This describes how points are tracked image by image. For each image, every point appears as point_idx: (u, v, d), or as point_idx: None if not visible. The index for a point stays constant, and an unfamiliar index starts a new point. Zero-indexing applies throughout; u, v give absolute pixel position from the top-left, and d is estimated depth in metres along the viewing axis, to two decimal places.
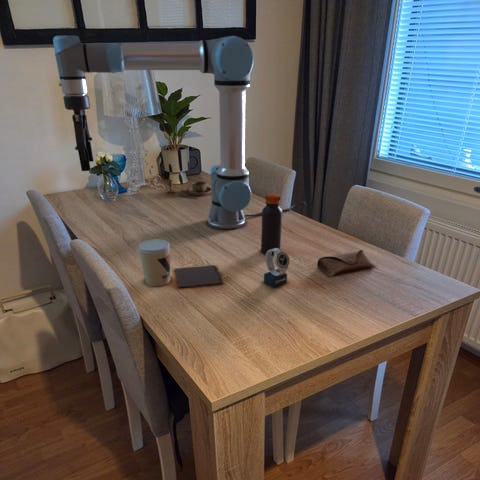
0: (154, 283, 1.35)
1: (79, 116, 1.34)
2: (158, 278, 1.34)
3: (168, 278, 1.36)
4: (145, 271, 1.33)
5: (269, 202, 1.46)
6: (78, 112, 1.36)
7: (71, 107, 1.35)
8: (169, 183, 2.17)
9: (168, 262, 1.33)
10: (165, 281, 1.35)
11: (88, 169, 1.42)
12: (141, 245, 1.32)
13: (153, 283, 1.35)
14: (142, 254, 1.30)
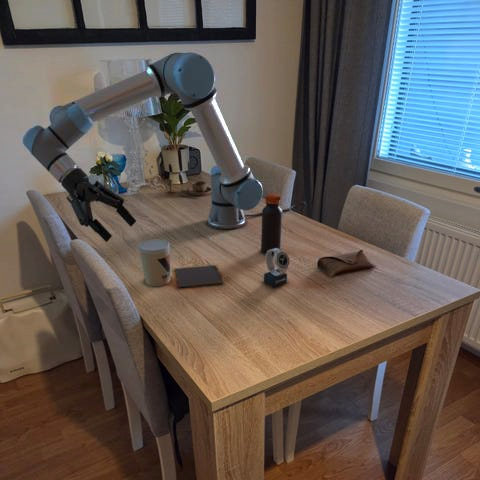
0: (154, 283, 1.35)
1: (70, 194, 1.24)
2: (158, 278, 1.34)
3: (168, 278, 1.36)
4: (145, 271, 1.33)
5: (269, 202, 1.46)
6: (74, 190, 1.27)
7: (68, 190, 1.28)
8: (169, 183, 2.17)
9: (168, 262, 1.33)
10: (165, 281, 1.35)
11: (108, 236, 1.27)
12: (141, 245, 1.32)
13: (153, 283, 1.35)
14: (142, 254, 1.30)
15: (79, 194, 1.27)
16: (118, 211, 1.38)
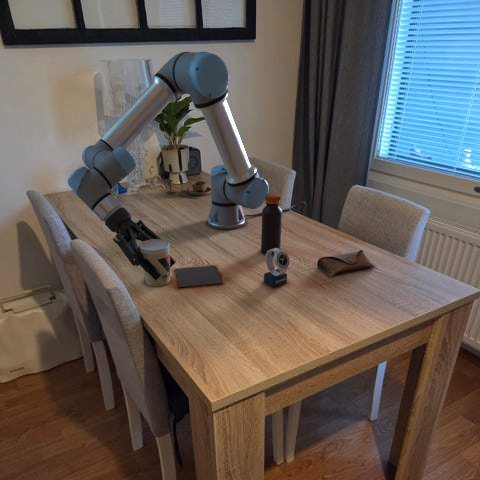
0: (154, 283, 1.35)
1: (117, 236, 1.27)
2: (158, 278, 1.34)
3: (168, 278, 1.36)
4: (145, 271, 1.33)
5: (269, 202, 1.46)
6: (117, 229, 1.29)
7: (111, 229, 1.30)
8: (169, 183, 2.17)
9: (168, 262, 1.33)
10: (165, 281, 1.35)
11: (158, 275, 1.31)
12: (141, 245, 1.32)
13: (153, 283, 1.35)
14: (142, 254, 1.30)
15: (123, 233, 1.29)
16: None
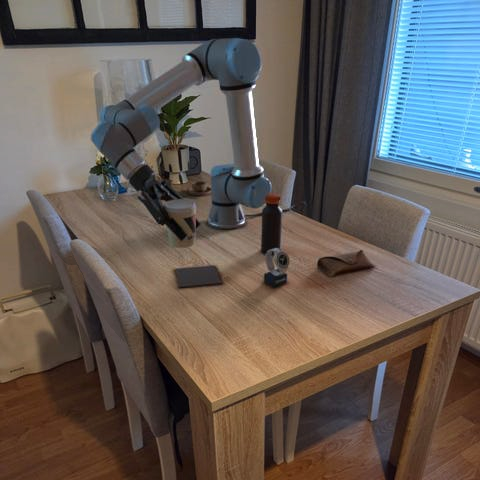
0: (179, 245, 1.30)
1: (142, 194, 1.22)
2: (183, 239, 1.29)
3: (193, 240, 1.31)
4: (170, 232, 1.29)
5: (269, 202, 1.46)
6: (142, 187, 1.24)
7: (136, 187, 1.25)
8: (169, 183, 2.17)
9: (194, 222, 1.29)
10: (190, 242, 1.31)
11: (184, 235, 1.26)
12: (166, 204, 1.27)
13: (178, 244, 1.30)
14: None
15: (148, 191, 1.24)
16: None
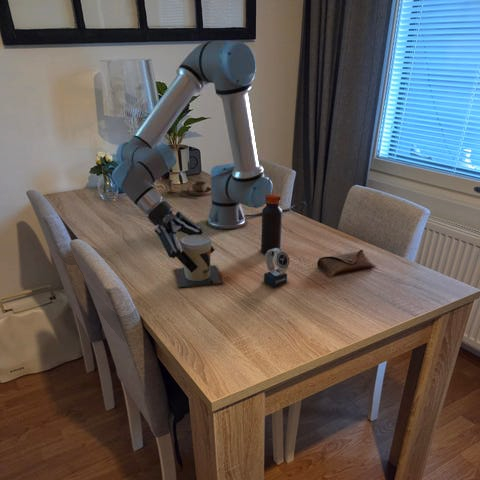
0: (195, 278, 1.36)
1: (158, 227, 1.28)
2: (199, 273, 1.36)
3: (208, 273, 1.38)
4: None
5: (269, 202, 1.46)
6: (160, 222, 1.31)
7: (154, 222, 1.32)
8: (169, 183, 2.17)
9: (209, 257, 1.35)
10: (205, 276, 1.37)
11: (194, 267, 1.30)
12: (183, 240, 1.33)
13: (194, 278, 1.36)
14: (184, 249, 1.32)
15: (166, 226, 1.30)
16: None
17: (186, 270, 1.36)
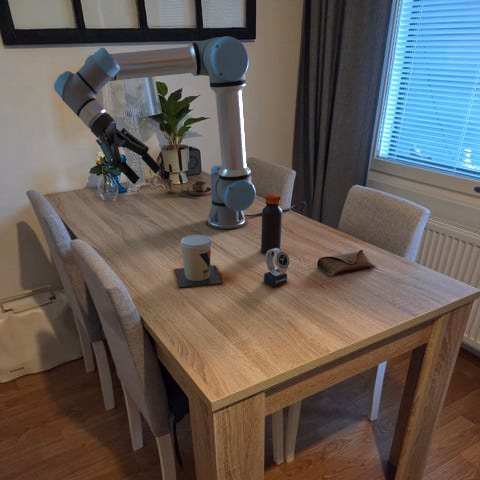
0: (195, 278, 1.36)
1: (99, 136, 1.30)
2: (199, 273, 1.36)
3: (208, 273, 1.38)
4: (186, 266, 1.35)
5: (269, 202, 1.46)
6: (103, 134, 1.32)
7: (97, 134, 1.33)
8: (169, 183, 2.17)
9: (209, 257, 1.35)
10: (205, 276, 1.37)
11: (136, 178, 1.32)
12: (183, 240, 1.33)
13: (194, 278, 1.36)
14: (184, 249, 1.32)
15: (108, 138, 1.32)
16: (143, 158, 1.43)
17: (186, 270, 1.36)
